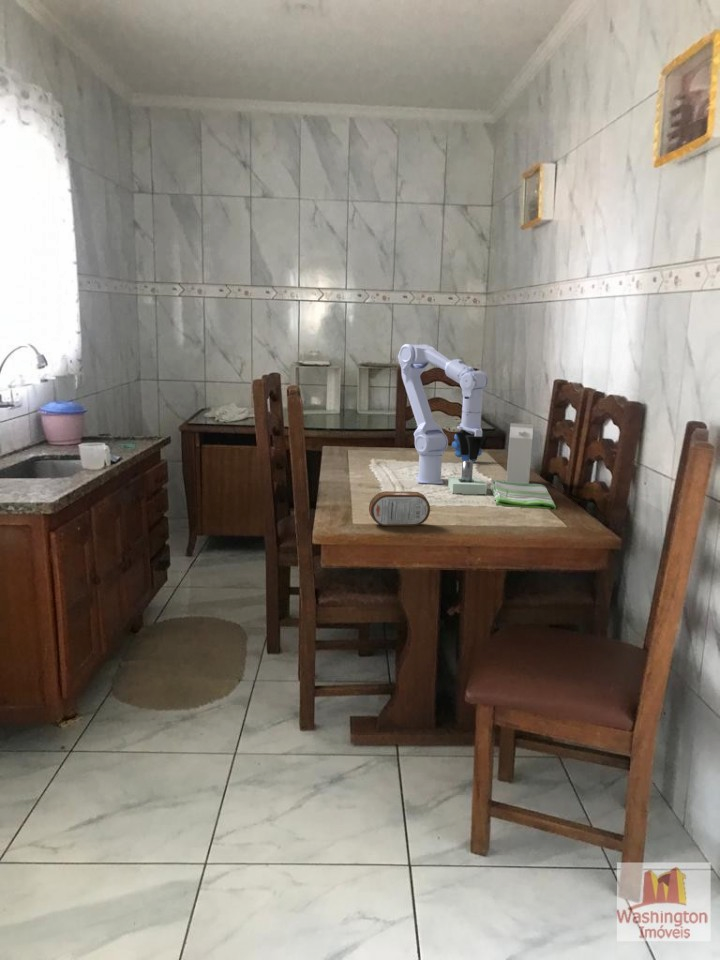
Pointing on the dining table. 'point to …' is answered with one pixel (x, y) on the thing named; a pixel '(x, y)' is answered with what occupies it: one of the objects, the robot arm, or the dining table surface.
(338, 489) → the dining table surface
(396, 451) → the dining table surface
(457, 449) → the grapes
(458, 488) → the socket
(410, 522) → the tin
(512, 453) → the milk carton
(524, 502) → the dish towel
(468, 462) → the peg
